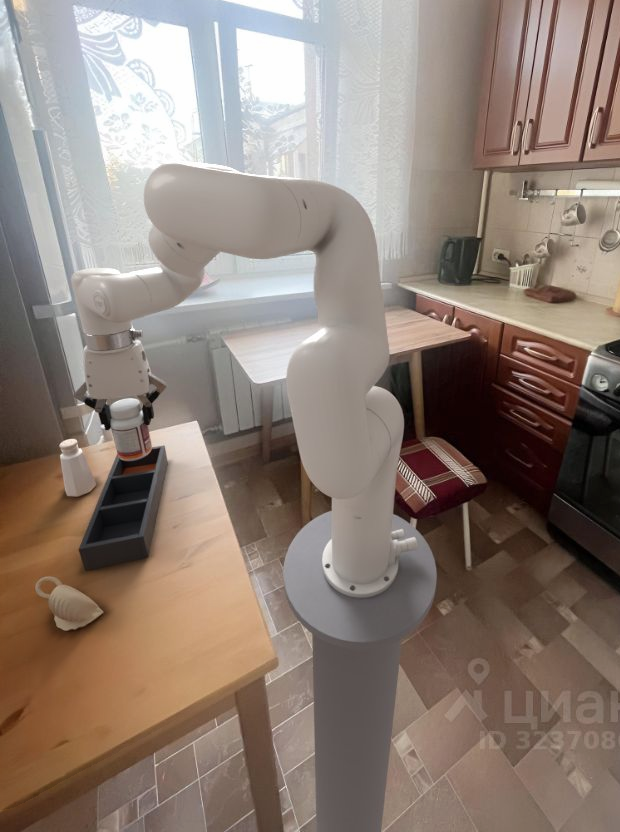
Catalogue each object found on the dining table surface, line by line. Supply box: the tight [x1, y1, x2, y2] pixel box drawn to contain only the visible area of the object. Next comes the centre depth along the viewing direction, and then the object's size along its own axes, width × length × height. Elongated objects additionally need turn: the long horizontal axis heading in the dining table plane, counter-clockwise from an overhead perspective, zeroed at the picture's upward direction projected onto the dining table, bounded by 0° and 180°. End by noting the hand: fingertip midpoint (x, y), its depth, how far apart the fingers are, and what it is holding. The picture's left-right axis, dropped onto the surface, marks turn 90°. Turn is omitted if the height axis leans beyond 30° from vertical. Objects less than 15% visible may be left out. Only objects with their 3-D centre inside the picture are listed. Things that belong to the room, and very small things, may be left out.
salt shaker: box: [58, 438, 97, 498], centre depth 77 cm, size 5×5×11 cm
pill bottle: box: [109, 397, 153, 461], centre depth 78 cm, size 6×6×11 cm
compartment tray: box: [77, 445, 169, 571], centre depth 74 cm, size 9×26×5 cm, turn 18°
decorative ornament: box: [35, 575, 104, 632], centre depth 55 cm, size 4×8×5 cm, turn 64°
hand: (129, 423), depth 77 cm, fingers closed on pill bottle, 6 cm apart
